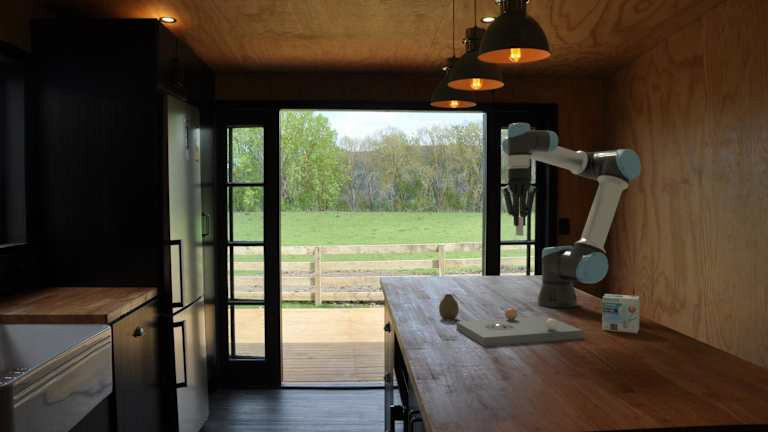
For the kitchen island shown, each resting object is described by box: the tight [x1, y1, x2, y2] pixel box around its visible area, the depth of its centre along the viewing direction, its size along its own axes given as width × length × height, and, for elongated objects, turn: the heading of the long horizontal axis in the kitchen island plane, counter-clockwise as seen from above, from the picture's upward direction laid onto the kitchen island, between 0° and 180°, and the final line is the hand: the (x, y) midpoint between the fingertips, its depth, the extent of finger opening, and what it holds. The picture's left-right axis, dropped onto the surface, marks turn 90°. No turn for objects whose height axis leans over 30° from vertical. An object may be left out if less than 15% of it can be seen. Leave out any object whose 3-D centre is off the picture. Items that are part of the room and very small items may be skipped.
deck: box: [456, 315, 584, 347], centre depth 179 cm, size 32×22×2 cm
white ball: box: [545, 318, 557, 331], centre depth 172 cm, size 4×4×4 cm
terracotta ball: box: [504, 307, 518, 320], centre depth 187 cm, size 4×4×4 cm
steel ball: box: [493, 324, 504, 329], centre depth 177 cm, size 4×4×4 cm
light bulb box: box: [601, 293, 640, 334], centre depth 182 cm, size 11×7×11 cm, turn 62°
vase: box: [438, 293, 459, 321], centre depth 202 cm, size 7×7×9 cm
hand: (519, 235), depth 200 cm, fingers closed
